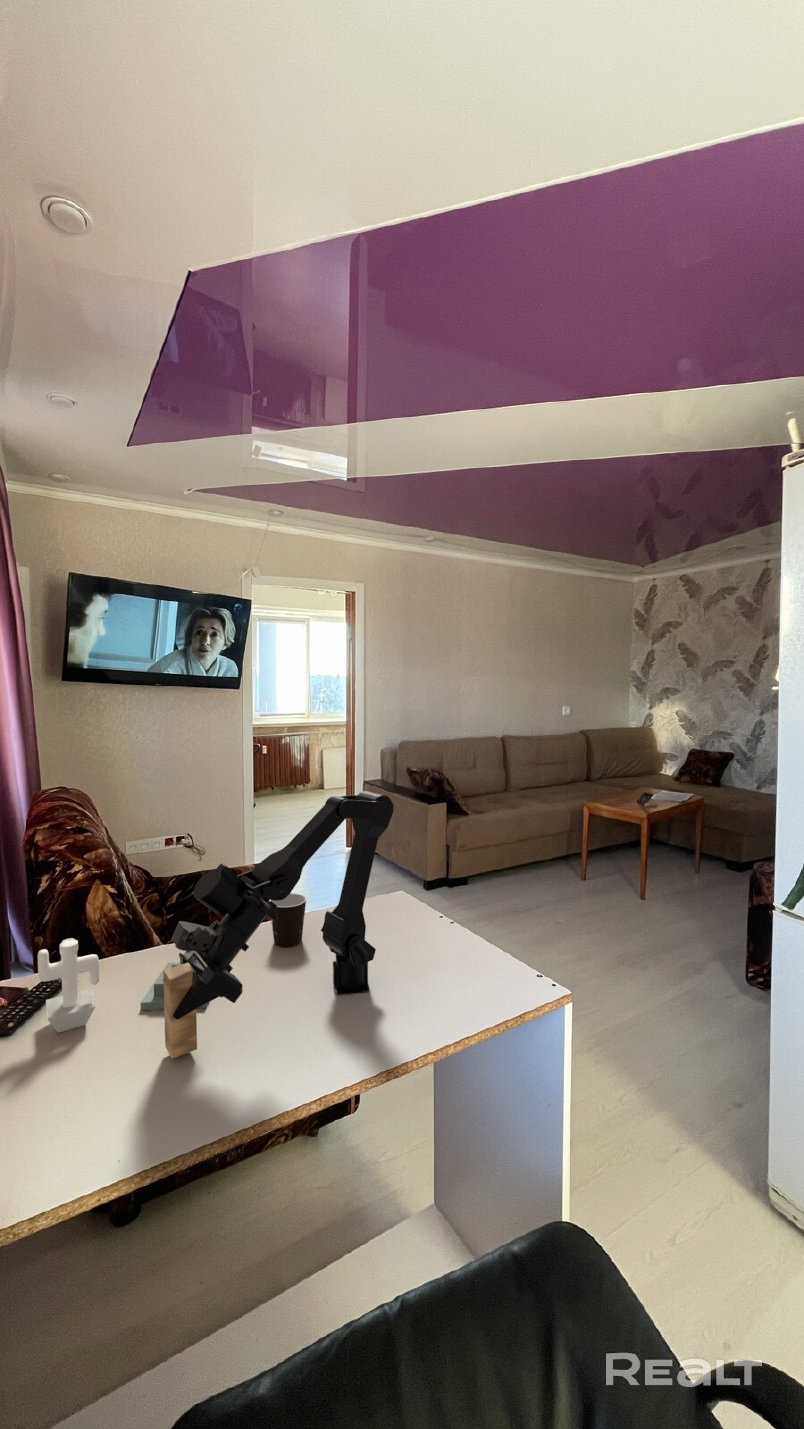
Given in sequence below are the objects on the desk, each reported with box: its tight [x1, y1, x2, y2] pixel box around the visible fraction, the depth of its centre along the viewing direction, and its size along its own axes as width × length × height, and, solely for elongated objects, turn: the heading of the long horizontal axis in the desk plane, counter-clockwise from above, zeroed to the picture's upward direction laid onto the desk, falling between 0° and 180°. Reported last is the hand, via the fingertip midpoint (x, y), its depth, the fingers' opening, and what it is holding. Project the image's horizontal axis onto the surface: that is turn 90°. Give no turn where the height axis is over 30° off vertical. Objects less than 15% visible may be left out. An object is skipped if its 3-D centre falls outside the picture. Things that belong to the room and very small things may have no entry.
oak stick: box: [162, 963, 198, 1059], centre depth 94 cm, size 4×4×13 cm
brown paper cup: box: [268, 892, 307, 949], centre depth 137 cm, size 12×9×10 cm
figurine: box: [37, 937, 101, 1034], centre depth 103 cm, size 7×9×15 cm
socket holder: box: [140, 961, 210, 1011], centre depth 113 cm, size 12×12×4 cm
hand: (171, 1011), depth 93 cm, fingers closed on oak stick, 4 cm apart
